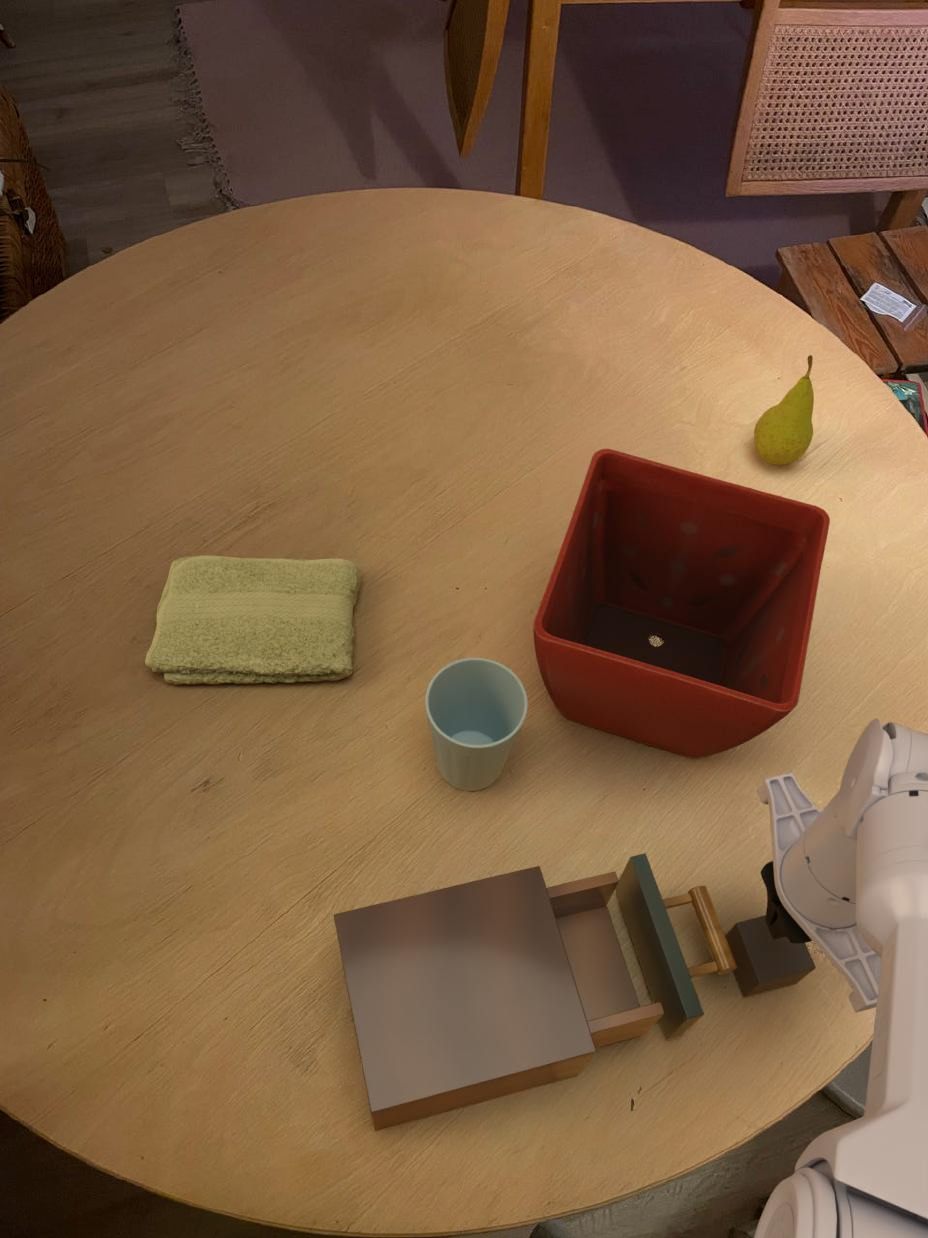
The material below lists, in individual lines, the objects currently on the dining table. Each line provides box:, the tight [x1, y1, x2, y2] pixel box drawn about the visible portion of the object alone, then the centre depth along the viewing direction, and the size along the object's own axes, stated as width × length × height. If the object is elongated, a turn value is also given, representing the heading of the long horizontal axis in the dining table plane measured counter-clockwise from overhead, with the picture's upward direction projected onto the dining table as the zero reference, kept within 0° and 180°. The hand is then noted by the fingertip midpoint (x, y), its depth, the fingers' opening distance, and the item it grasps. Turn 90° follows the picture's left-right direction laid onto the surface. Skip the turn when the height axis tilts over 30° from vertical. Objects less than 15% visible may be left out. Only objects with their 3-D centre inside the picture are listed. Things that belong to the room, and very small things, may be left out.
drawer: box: [546, 852, 737, 1049], centre depth 73 cm, size 18×11×7 cm, turn 104°
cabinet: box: [333, 865, 597, 1132], centre depth 72 cm, size 15×13×9 cm
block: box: [725, 914, 817, 999], centre depth 76 cm, size 4×4×4 cm
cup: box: [424, 657, 529, 792], centre depth 82 cm, size 8×8×10 cm
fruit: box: [753, 354, 815, 466], centre depth 101 cm, size 6×6×12 cm
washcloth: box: [144, 554, 362, 686], centre depth 91 cm, size 13×18×3 cm
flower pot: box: [532, 448, 831, 759], centre depth 84 cm, size 19×19×17 cm
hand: (782, 926), depth 71 cm, fingers closed
